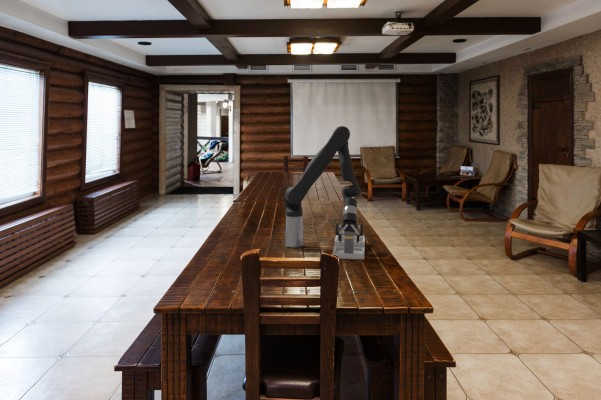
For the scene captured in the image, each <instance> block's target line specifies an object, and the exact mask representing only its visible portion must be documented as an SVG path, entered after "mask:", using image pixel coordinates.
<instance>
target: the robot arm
mask: <svg viewBox="0 0 601 400" xmlns="http://www.w3.org/2000/svg"><path fill="white" fill-rule="evenodd" d="M350 137H351V132H350V130H349V128H348V127H347V126H343V125H341V126H337V127H336V128H335V129H334V130H333V132H332V134H331V136H330V138H329V139H328V141H327V142H326V143H325V144H324V145H323V147H322V148H321V149H319V151H318V152H317V153H316V154H315V155H314V156H313V158H312V159H311V161H310V162H309V163H308V164H307V166H306V167H305V170H304V172H303V174H302V176H301V177H300V179H299V181H298V182H297V183H296V184H295V185H293V186H290V187H288V188H287V189H286V190H285V192H284V193H285V194H284V207H285V208H284V209H285V222H286V223H285V228H286V229H285V233H284V234H285V247H287V248H288V247H289V248H301V247H303V246H304V245H303V243H304V242H303V241H304V239H303V238H304V237H303V235H304V233H303V232H304V231H303V229H304V227H303V226H304V222H303V220H304V219H303V215H304V214H303V208H302V207H303V206H302V202H303V200H304V199H305V198H306V196H307V194H308V193H309V191H310V189H311V187H312V186H313V185H314V184H315V183H316V182H317V180H318V179H319V178H320V177H321V176H322V174H323V173H324V172H325V171H326V170H327V168H328V166H330V163H331V162H332V160H333V159H334V157H335V155H336V154H338V159H339V168H340V173H341V179H342V180H343V182H349V183H351V184H349V185H344V186H343V187H341V191H340V192H341V195H342V199H343V209H342V224H339V223H336V225H335V226H336V227H335V236H336V235H338V236H339V241H340V242H341V239H342V236H344V235H345V231H350V232H354V236H357V243H358V242H359V237H360V236H364V226H363V225H364V224H363V223H360V224H358V209H357V208H358V201H357V199H356V197H359V196H361V192H362V191H361V187H360V185H359V183H358V181H357V179H356V176H355V169H354V164H353V161H352V158H351V155H350V150H349V140H350ZM340 229H341V230H340ZM358 229H359V230H360V232H359V231H358ZM339 230H340V231H339Z"/></svg>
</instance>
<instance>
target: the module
mask: <svg viewBox="0 0 601 400" xmlns="http://www.w3.org/2000/svg"><path fill="white" fill-rule="evenodd" d="M344 236H345V241H344V253H349V254H353V240H354V236H355V234H354V232H350V231H345V233H344Z"/></svg>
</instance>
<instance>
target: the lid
mask: <svg viewBox="0 0 601 400" xmlns="http://www.w3.org/2000/svg"><path fill="white" fill-rule="evenodd" d="M333 255H336V256H338V257H339V258H338V259H339V260H340V259H343V260H344V259H345V260H347V259H348V260H365V248H364V247H353V254H349V253H344V247H335V246H334V247H333V249H332V256H333Z"/></svg>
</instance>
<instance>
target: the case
mask: <svg viewBox="0 0 601 400" xmlns="http://www.w3.org/2000/svg"><path fill="white" fill-rule="evenodd" d="M365 237H366V236H365V235H363V236H360V237H359V242H358V243H357V236H356V235H354V240H353V247H364V249H365V240H366V239H365ZM344 241H345V235H342V239H341V242H340V241H339V236H338V235H336V234H335V238H334V247H344Z"/></svg>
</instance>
